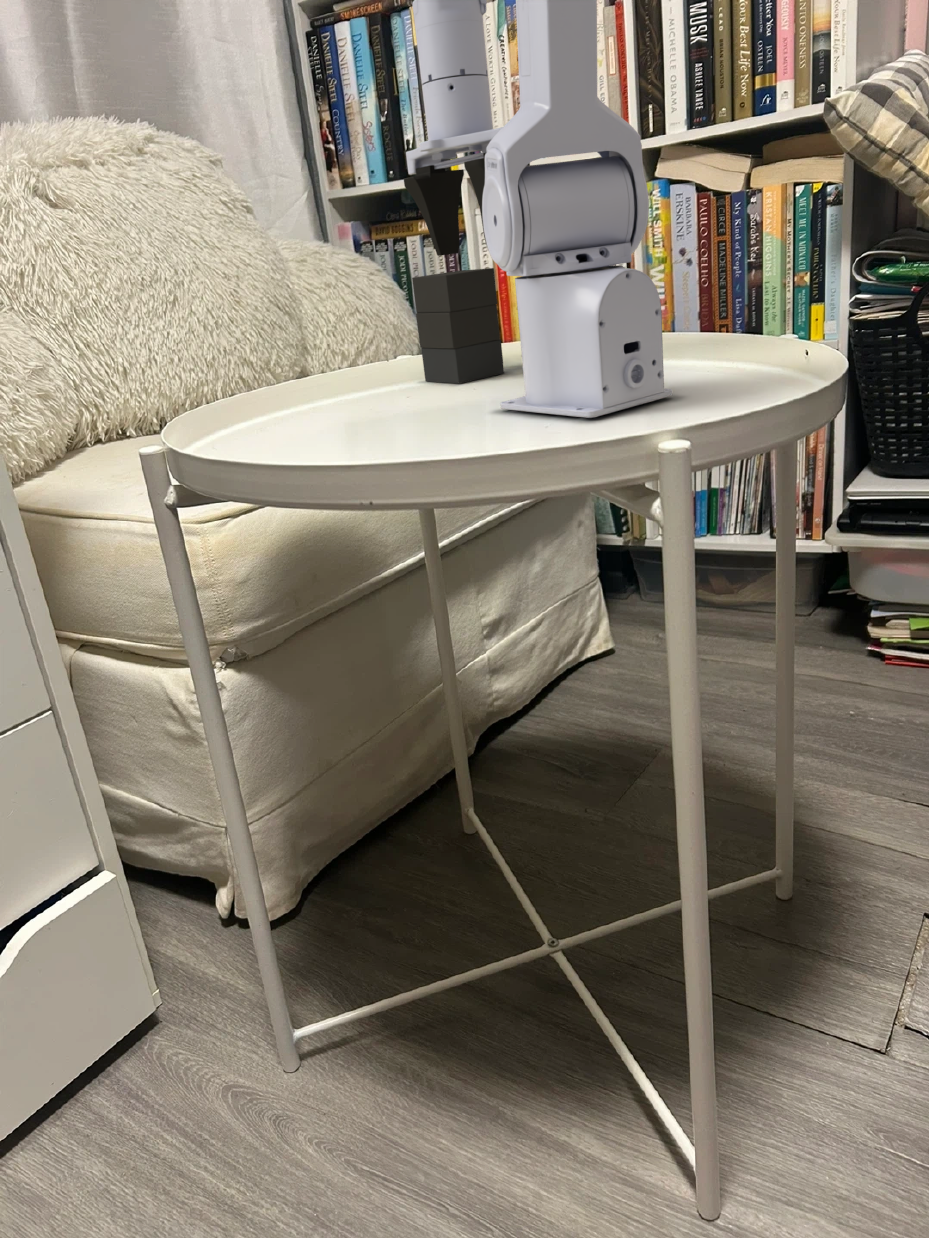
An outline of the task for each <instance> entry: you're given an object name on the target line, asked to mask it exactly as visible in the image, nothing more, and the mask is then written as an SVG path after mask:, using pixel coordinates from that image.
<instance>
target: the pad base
mask: <svg viewBox="0 0 929 1238" xmlns="http://www.w3.org/2000/svg"><path fill="white" fill-rule="evenodd" d="M420 349H421V357H422V365H423V373H424V380H425V382H431V383H442V384H443V383H446V384H456V385H459V384H464V383H469V382H473V381H477V380H483V379H485V378H491V377H496V376H498V375H503V374H504V373H505V367H504V357H503V347H502V339H501V338H500V339H499V340H495V341H490V342H485V343H480V344H475V345H470V346H465V347H460V348H455V349H445V348H420Z"/></svg>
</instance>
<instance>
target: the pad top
mask: <svg viewBox="0 0 929 1238" xmlns="http://www.w3.org/2000/svg"><path fill="white" fill-rule="evenodd" d="M411 280H412V289H413V293H414V294H413V296H414V304H415V313H444V312H455V311H461V310H467V309H472V308H478V307H484V306H489V305H495V304H496V305H497V304H498V296H497V286H496V276H495V268H494V267H490V268H489V267H488V268H476V269H464V270H455V271H447V272H441V273H433V274H428V275H420V276H414V277H412V278H411Z"/></svg>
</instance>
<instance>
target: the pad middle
mask: <svg viewBox="0 0 929 1238" xmlns="http://www.w3.org/2000/svg"><path fill="white" fill-rule="evenodd" d="M415 317H416V326H417V332H418V333H417V334H418V340H419V348H420V349H421V348H445V349H455V348H460V347H465V346H470V345H475V344H480V343H485V342H490V341H495V340H499V339H500V340H501V334H500V325H499V315H498V305H497V304H495V305H489V306H484V307H478V308H472V309H467V310H461V311H455V312H444V313H417V312H415Z"/></svg>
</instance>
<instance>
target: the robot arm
mask: <svg viewBox="0 0 929 1238" xmlns="http://www.w3.org/2000/svg"><path fill="white" fill-rule="evenodd" d="M487 3H488V0H413V1H412V3H411V4H412V5H411V6H412V12H413V13H412V15H413V21H414V30H415V38H416V39H415V40H416V48H417V55H418V56H417V57H418V65H419V74H420V83H421V89H422V90H421V91H422V100H423V106H424V107H423V108H424V116H425V124H426V134H427V140H425V141H422V142H419V143H418V145H419V146H418V147H417V148H414V149H411V150H407V151H405V156H406V157H405V158H406V166H407V172H408V175H414V176H409V177H406V178H403V185H404V188H405V189H406V190H407V192H408V193H409V195H410V196H411V197H412V199H413V201H414V202H415V205H416V206H417V207H418V209H419V212H420V213H421V216H422V218H423V220H424V222H425V225H426V228H427V230H428V233H429V236H430V239H431V242H432V245H433V247H434V250H435V252H436V256H437V257H441V256H449V255H455V254H459V252H460V223H459V222H460V221H459V207H460V197H461V190H462V184H463V178H464V176H465V170H466V173H467V175H468V177H469V179H470V182H471V185H472V187H473V190H474V193H475V196H476V199H477V203H478V204H477V205H478V208H479V212H480V217H481V218H480V219H481V224H482V231H483V238H484V241H485V245H486V247H487V251H488V254H489V255H490V257H491V259H492V261H493V262H494V263H495V264H496V265H497V266H498V268H500V270H501V271H503V272H506V276H507V277H515V278H514V284H515V296H516V306H517V307H516V309H517V317H518V329H519V341H520V351H521V363H522V372H523V374H522V375H523V384H524V396H519V397H516V398H512V399H508V400H504V401H501V402H500V403H499V406H500V409H501V410H509V411H516V412H517V411H519V412H528V413H538V414H548V415H557V416H566V417H567V416H568V417H578V418H588V419H592V418H597V417H600V416H604V415H608V414H612V413H615V412H618V411H622V410H627V409H630V408H633V407H636V406H640V405H643V404H644V405H645V404H648V403H650V402H655V401H658V400H662V399H665V398H668V397H672V396H673V389H672V388H665V370H664V347H663V345H664V343H663V341H664V340H663V317H662V315H663V314H662V302H661V298H660V295H659V291H658V289H657V287H656V285H655V283H654V281H653V280H652V278H651V277H650V276H649V275H648V274H646V273H645V272H643V271H642V270H638V269H635V268H627V267H625V266H623V265H622V264H627V263H628V264H629V263H631V262H632V259H633V258H632V255H633V253H635V252H636V250H637V249H638V248H639V246H640V245H641V244H640V243H641V242H642V241H643V239H644V236H645V235H646V230H647V227H648V223H649V213H650V212H649V210H650V199H649V190H648V185H647V180H646V177H645V172H644V165H643V145H642V137H641V135H640V133H639V132H638V131H637V130H636V128H634V127H633V126H632V125H631V124H630V122H628V121H626V119H624V118H623V117H622V116H620V115H619V114H618V113H616V112H615V111H614V110H613V109H612V108H610V107H609V106H607V105H606V104H605V103H604V102H603V101H602V100H601V99H600V98H599V96H598V0H515V14H516V34H517V35H516V38H517V39H516V40H517V41H516V43H517V65H518V87H519V109H518V110H517V111H516V113H515V114H514V115H513V116H512V117H511V118H510V119H509V120H508V121H507V122H506V123H505V125H503V126H501V127H497V128H494V124H493V113H492V102H491V92H490V80H489V79H490V78H489V71H488V70H489V69H488V59H487V48H486V39H485V38H486V37H485V27H484V15H485V14H486V13H487ZM473 152H474V154H469V155H465V156H461V157H457V155H459V154H464V153H473ZM475 152H477V153H475ZM592 153H597V154H598V155H599V156H600V157H593V158H584V159H575V160H566V161H558V162H556V161H555V162H549V163H540V164H539V163H538V164H531V162H534V161H537V160H540V159H546V158H555V157H556V158H557V157H564V156H571V155H572V156H574V155H582V154H592ZM460 165H464V169H465V170H464V169H462V168H461V169H451V170H446V169H447V168H451V167H455V166H460Z"/></svg>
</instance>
